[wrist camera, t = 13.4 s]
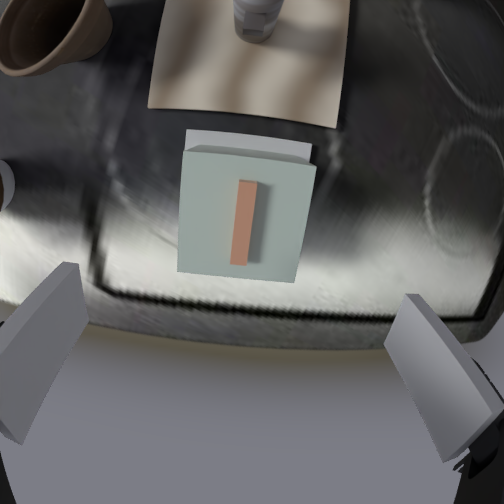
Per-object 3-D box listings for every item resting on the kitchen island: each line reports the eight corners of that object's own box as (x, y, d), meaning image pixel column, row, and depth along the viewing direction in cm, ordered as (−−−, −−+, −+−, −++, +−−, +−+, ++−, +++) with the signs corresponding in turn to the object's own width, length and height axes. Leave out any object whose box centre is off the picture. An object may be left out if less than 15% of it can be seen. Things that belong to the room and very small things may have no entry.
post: (151, 108, 25) (103, 101, 15) (179, -37, 18) (156, -91, 8) (332, 128, 27) (380, 131, 17) (347, -17, 20) (389, -62, 10)
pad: (180, 243, 31) (179, 245, 30) (188, 129, 26) (186, 129, 26) (291, 254, 32) (292, 257, 31) (310, 143, 27) (312, 144, 27)
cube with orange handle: (199, 144, 26) (180, 152, 18) (295, 155, 27) (320, 168, 19) (192, 234, 30) (174, 277, 22) (281, 243, 31) (296, 289, 22)
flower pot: (76, 104, 24) (18, 103, 15) (34, 49, 20) (-21, 39, 11) (155, 27, 22) (119, -10, 12) (102, -21, 18) (62, -56, 9)
